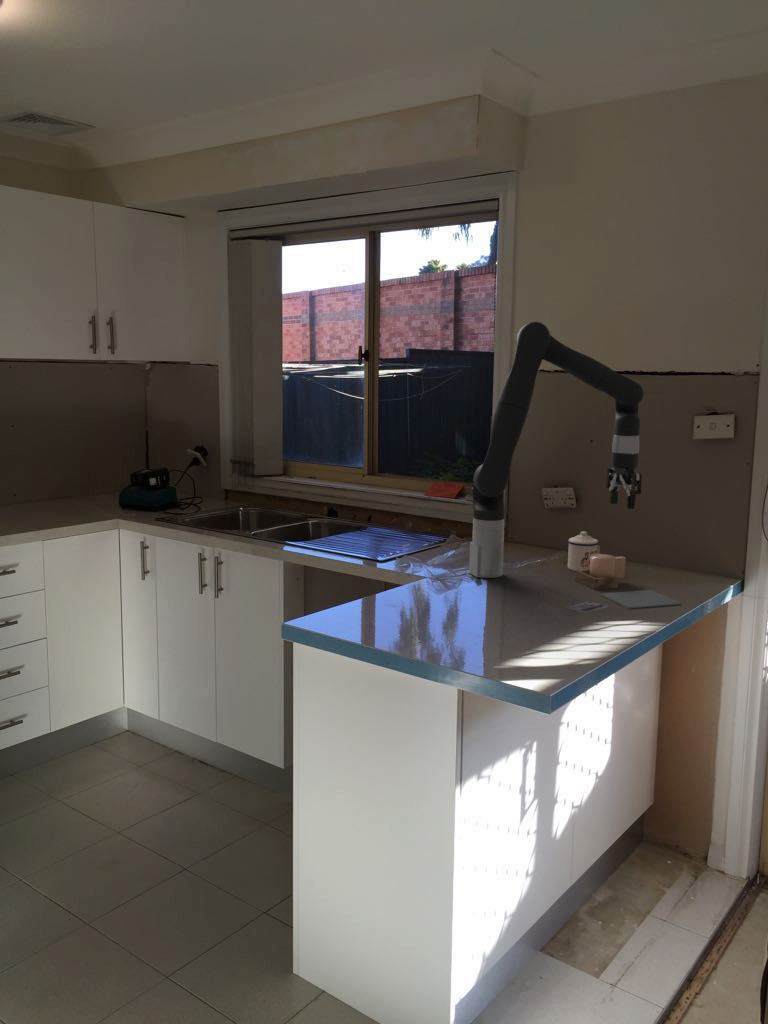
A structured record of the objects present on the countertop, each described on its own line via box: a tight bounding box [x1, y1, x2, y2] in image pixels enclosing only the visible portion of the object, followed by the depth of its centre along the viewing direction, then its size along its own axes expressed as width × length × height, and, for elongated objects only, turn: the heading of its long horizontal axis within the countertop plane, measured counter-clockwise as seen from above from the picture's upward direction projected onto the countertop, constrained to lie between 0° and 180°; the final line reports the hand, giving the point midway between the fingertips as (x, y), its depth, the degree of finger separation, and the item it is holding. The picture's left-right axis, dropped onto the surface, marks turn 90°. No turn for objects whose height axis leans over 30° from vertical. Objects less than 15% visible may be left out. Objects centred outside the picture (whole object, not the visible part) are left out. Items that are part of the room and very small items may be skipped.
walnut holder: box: [574, 569, 619, 590], centre depth 248 cm, size 8×11×3 cm
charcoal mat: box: [599, 589, 682, 610], centre depth 232 cm, size 16×14×1 cm
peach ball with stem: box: [589, 553, 627, 579], centre depth 248 cm, size 10×7×8 cm, turn 107°
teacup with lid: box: [567, 531, 601, 572], centre depth 266 cm, size 12×9×12 cm
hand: (621, 506), depth 251 cm, fingers open, 8 cm apart
